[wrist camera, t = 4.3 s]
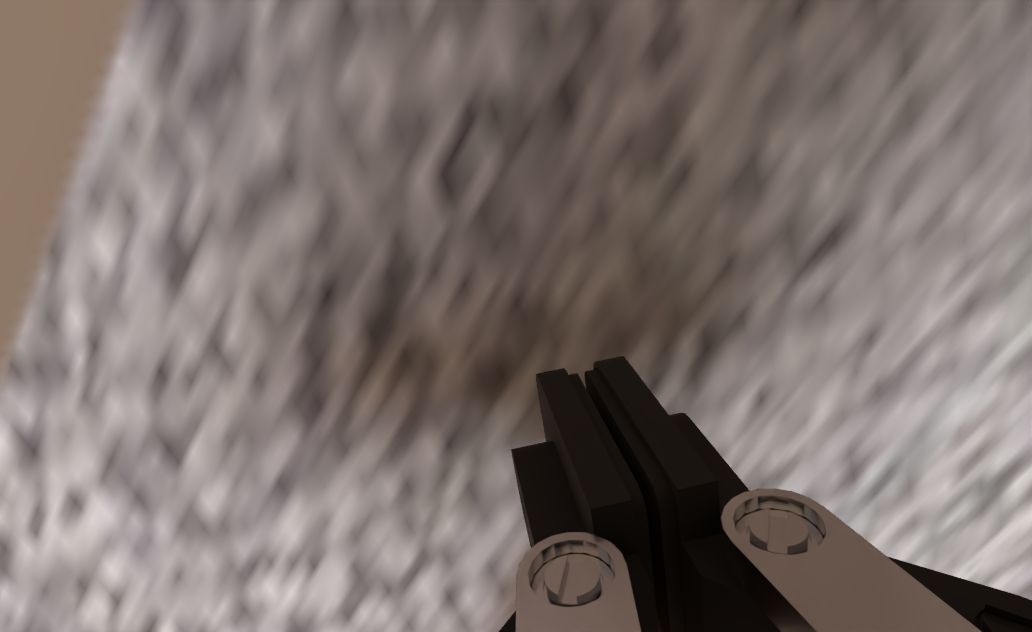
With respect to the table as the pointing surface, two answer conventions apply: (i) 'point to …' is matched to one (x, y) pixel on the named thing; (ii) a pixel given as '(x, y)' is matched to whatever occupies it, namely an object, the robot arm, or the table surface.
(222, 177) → the table surface
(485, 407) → the table surface
